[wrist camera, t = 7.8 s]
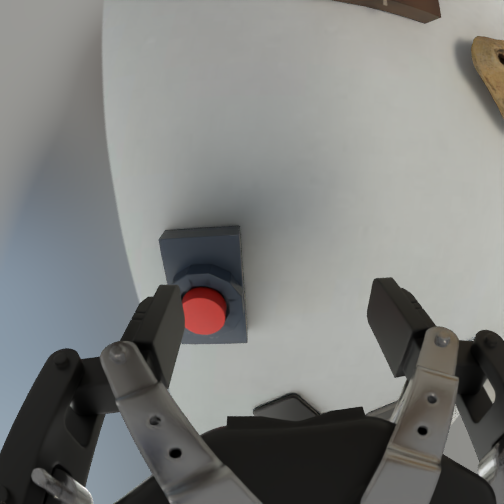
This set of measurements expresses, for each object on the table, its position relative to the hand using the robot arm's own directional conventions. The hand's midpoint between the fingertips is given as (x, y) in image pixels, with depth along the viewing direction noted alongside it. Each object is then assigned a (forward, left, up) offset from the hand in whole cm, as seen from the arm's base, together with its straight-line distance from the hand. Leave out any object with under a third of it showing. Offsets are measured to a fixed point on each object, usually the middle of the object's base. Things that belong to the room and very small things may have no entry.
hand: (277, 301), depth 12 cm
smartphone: (+25, -24, -15) cm, 38 cm away
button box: (+1, -10, -15) cm, 18 cm away
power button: (+1, -10, -12) cm, 15 cm away
